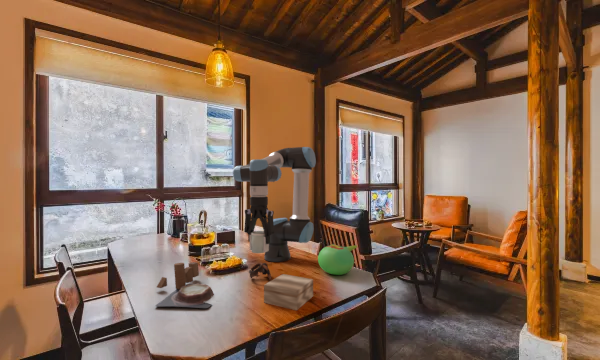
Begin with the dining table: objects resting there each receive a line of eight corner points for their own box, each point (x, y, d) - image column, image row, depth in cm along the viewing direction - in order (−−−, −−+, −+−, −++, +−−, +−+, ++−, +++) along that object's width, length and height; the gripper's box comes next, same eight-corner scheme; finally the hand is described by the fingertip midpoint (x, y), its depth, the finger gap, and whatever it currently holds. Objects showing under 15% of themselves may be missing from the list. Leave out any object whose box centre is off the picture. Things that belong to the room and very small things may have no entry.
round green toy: (311, 273, 142) (311, 243, 142) (331, 265, 154) (331, 238, 154) (341, 282, 130) (341, 249, 129) (361, 273, 142) (361, 243, 142)
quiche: (181, 287, 125) (181, 278, 125) (226, 289, 124) (226, 280, 124) (153, 306, 104) (154, 295, 105) (207, 309, 103) (208, 298, 103)
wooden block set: (192, 278, 135) (191, 256, 135) (205, 279, 131) (203, 257, 131) (156, 291, 120) (154, 266, 120) (169, 294, 115) (167, 268, 116)
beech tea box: (282, 290, 121) (282, 273, 121) (313, 296, 114) (313, 279, 114) (263, 303, 108) (263, 284, 108) (296, 311, 102) (296, 291, 102)
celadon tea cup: (257, 248, 126) (257, 230, 126) (270, 250, 123) (270, 231, 122) (247, 252, 120) (247, 233, 120) (261, 254, 117) (260, 234, 116)
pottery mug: (270, 283, 128) (261, 268, 127) (253, 291, 130) (243, 276, 129) (276, 269, 140) (267, 255, 139) (260, 276, 142) (251, 262, 141)
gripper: (235, 195, 122) (235, 249, 122) (273, 197, 113) (273, 255, 113) (246, 194, 129) (246, 246, 129) (283, 196, 119) (283, 251, 120)
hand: (259, 250), depth 121 cm, fingers closed on celadon tea cup, 7 cm apart
